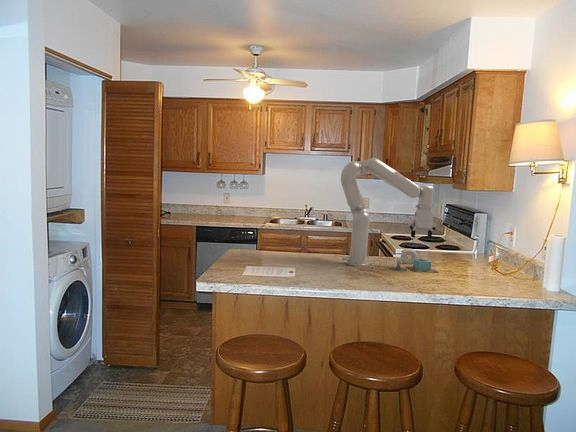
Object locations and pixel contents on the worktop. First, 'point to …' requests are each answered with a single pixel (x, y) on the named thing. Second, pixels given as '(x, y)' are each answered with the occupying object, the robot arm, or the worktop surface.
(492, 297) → the worktop surface
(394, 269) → the stand
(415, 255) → the donut
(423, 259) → the hub board
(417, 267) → the collar
